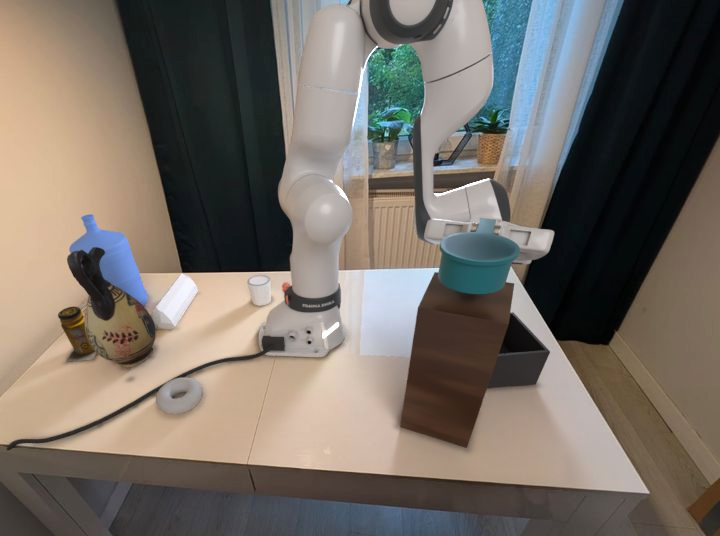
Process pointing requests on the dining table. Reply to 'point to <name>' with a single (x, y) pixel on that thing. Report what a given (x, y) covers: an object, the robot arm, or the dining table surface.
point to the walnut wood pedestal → (453, 359)
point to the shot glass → (260, 289)
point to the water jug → (113, 258)
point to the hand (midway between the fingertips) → (485, 229)
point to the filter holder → (476, 260)
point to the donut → (182, 403)
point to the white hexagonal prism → (174, 303)
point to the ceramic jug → (112, 314)
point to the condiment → (76, 334)
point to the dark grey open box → (518, 357)
